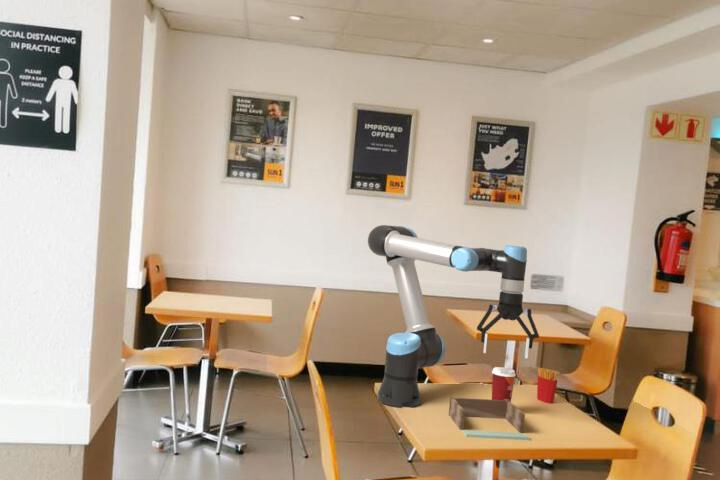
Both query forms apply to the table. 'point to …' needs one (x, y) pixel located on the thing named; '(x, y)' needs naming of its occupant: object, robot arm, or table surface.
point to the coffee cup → (502, 383)
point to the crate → (485, 411)
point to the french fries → (546, 385)
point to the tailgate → (495, 435)
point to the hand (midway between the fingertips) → (505, 355)
